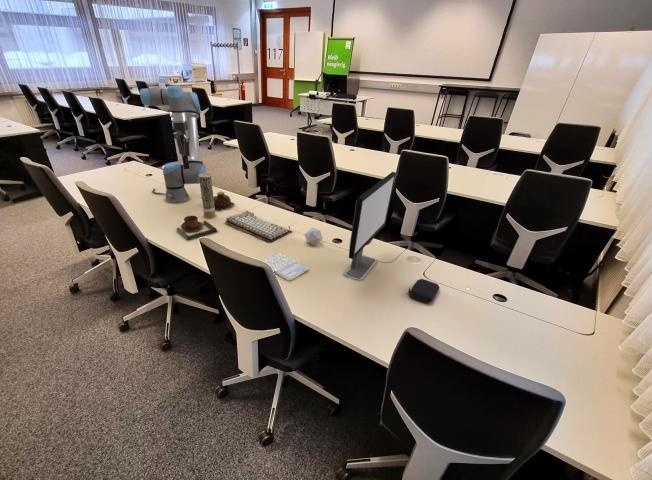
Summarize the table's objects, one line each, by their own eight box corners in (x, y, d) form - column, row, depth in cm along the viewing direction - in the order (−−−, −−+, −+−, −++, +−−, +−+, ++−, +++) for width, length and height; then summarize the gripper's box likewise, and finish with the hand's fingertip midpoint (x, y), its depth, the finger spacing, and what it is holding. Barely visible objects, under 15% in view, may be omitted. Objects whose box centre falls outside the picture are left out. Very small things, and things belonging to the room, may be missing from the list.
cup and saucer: (196, 234, 181) (194, 224, 177) (177, 231, 184) (175, 220, 180) (207, 225, 190) (205, 215, 187) (189, 222, 193) (187, 212, 190)
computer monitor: (352, 290, 142) (368, 200, 118) (334, 284, 145) (346, 195, 121) (383, 252, 170) (401, 173, 146) (368, 248, 173) (383, 169, 149)
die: (324, 244, 177) (320, 226, 177) (321, 243, 168) (317, 224, 168) (309, 248, 179) (305, 230, 179) (306, 247, 171) (301, 228, 170)
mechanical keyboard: (292, 231, 187) (292, 226, 185) (269, 243, 175) (269, 237, 173) (245, 214, 206) (245, 208, 204) (222, 223, 194) (221, 218, 192)
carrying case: (415, 281, 149) (404, 296, 139) (416, 275, 147) (406, 290, 137) (439, 289, 144) (430, 306, 134) (441, 283, 142) (432, 300, 132)
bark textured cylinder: (216, 214, 204) (212, 173, 189) (213, 218, 198) (208, 176, 184) (206, 213, 204) (200, 172, 189) (202, 218, 199) (197, 176, 184)
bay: (177, 231, 184) (176, 228, 183) (205, 223, 193) (204, 220, 192) (188, 240, 175) (187, 237, 174) (216, 232, 184) (216, 228, 183)
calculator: (278, 255, 165) (278, 252, 164) (308, 270, 154) (309, 267, 153) (259, 265, 157) (258, 261, 156) (289, 281, 146) (289, 278, 145)
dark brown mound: (219, 199, 224) (217, 185, 218) (239, 204, 218) (238, 189, 213) (203, 208, 211) (201, 193, 205) (224, 213, 206) (222, 197, 200)
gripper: (167, 120, 171) (175, 167, 185) (177, 124, 163) (185, 172, 177) (180, 119, 175) (187, 164, 189) (191, 122, 167) (198, 170, 181)
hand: (186, 168), depth 183 cm, fingers closed
